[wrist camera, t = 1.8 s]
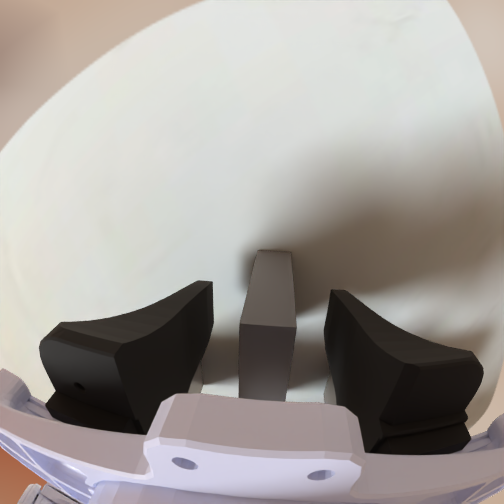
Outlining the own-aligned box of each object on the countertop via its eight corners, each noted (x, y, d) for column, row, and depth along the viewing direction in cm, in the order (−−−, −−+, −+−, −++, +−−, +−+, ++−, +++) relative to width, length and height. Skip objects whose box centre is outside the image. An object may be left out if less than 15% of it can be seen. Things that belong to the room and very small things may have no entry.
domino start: (284, 319, 14) (283, 412, 8) (254, 317, 14) (238, 408, 9) (290, 252, 13) (296, 327, 7) (257, 250, 13) (239, 323, 7)
